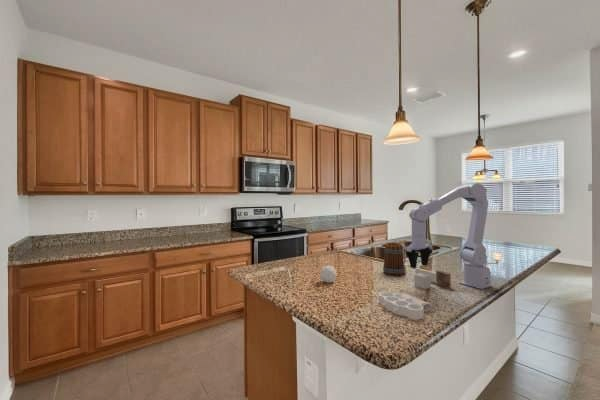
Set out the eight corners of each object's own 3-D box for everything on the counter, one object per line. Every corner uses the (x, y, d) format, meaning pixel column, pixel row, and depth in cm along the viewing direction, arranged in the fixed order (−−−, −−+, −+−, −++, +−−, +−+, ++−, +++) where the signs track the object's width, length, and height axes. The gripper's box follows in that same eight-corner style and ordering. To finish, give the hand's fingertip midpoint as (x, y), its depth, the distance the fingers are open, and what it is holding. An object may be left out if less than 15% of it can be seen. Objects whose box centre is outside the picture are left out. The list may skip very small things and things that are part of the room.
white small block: (430, 287, 115) (430, 276, 115) (424, 289, 113) (424, 277, 113) (420, 284, 120) (420, 273, 120) (414, 286, 118) (414, 274, 118)
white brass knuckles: (440, 314, 90) (407, 324, 84) (399, 297, 106) (369, 303, 100) (440, 304, 90) (407, 313, 84) (399, 288, 106) (369, 294, 100)
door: (441, 282, 120) (441, 273, 120) (438, 283, 119) (438, 274, 119) (418, 275, 131) (418, 267, 131) (415, 276, 130) (415, 268, 130)
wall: (451, 287, 114) (451, 273, 114) (448, 288, 113) (448, 274, 113) (438, 284, 119) (438, 270, 119) (435, 284, 118) (435, 271, 118)
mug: (401, 277, 131) (401, 246, 131) (380, 274, 137) (379, 244, 137) (410, 269, 143) (409, 241, 143) (390, 267, 150) (389, 240, 150)
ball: (329, 289, 124) (326, 278, 119) (318, 279, 129) (315, 269, 125) (341, 279, 127) (338, 268, 122) (329, 270, 132) (327, 259, 128)
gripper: (420, 233, 125) (421, 262, 125) (400, 235, 117) (400, 266, 117) (435, 234, 119) (435, 265, 119) (414, 237, 111) (414, 270, 111)
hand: (418, 266), depth 118 cm, fingers open, 7 cm apart
